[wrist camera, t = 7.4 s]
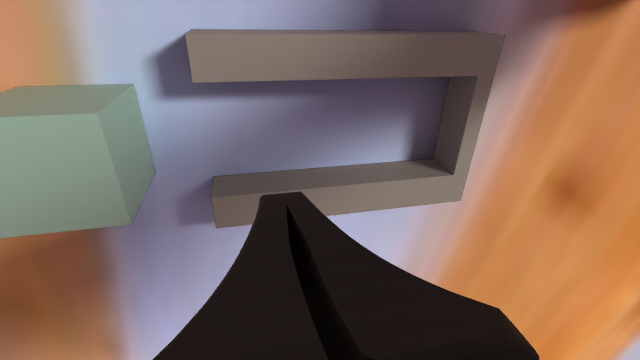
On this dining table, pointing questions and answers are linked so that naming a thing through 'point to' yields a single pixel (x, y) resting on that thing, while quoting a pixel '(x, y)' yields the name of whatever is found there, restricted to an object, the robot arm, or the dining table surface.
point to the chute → (354, 63)
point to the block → (71, 158)
